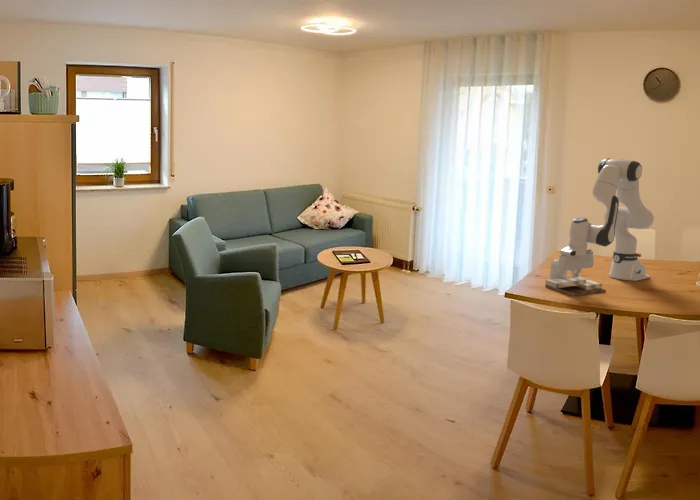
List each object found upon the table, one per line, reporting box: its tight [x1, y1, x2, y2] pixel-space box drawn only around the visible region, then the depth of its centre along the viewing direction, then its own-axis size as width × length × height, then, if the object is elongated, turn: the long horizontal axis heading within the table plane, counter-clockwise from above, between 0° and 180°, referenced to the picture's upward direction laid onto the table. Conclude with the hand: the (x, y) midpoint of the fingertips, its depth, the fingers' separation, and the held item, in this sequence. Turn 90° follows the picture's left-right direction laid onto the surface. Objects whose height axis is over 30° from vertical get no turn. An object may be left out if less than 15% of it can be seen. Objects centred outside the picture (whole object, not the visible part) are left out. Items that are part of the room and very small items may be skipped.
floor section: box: [544, 276, 607, 297], centre depth 357 cm, size 22×20×4 cm
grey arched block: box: [549, 258, 568, 279], centre depth 372 cm, size 10×4×12 cm, turn 123°
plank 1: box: [557, 280, 586, 288], centre depth 351 cm, size 11×9×2 cm
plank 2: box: [575, 279, 603, 290], centre depth 356 cm, size 11×9×2 cm
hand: (575, 277), depth 349 cm, fingers closed
